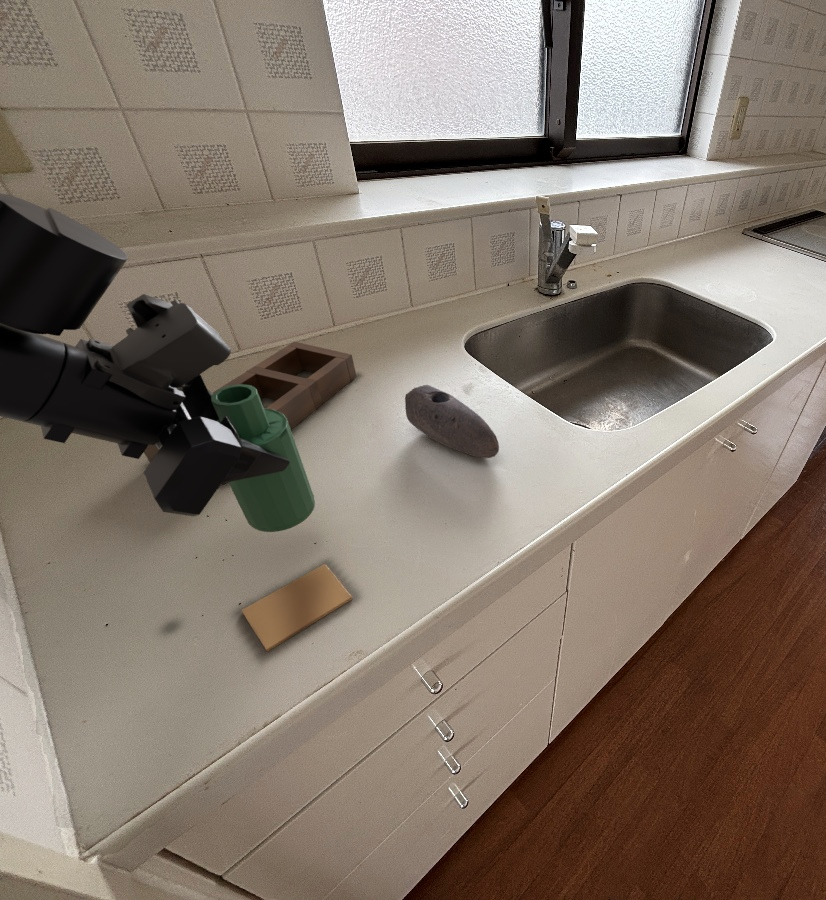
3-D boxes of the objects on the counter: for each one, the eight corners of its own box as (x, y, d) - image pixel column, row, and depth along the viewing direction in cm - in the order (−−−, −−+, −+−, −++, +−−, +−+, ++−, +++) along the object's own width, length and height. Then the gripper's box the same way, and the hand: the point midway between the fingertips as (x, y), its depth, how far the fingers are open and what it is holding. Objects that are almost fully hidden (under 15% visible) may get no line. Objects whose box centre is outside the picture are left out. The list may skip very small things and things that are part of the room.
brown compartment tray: (224, 484, 60) (211, 459, 57) (151, 465, 61) (135, 440, 58) (356, 376, 80) (351, 354, 78) (300, 363, 81) (294, 341, 79)
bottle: (233, 528, 48) (172, 410, 39) (268, 486, 52) (219, 371, 44) (297, 535, 48) (249, 419, 39) (325, 492, 53) (289, 380, 44)
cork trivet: (267, 651, 45) (266, 649, 45) (242, 612, 48) (240, 610, 47) (352, 599, 50) (351, 596, 50) (325, 565, 53) (325, 563, 52)
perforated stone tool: (509, 456, 69) (509, 416, 65) (484, 476, 66) (482, 435, 61) (432, 415, 75) (427, 375, 70) (404, 431, 71) (397, 390, 67)
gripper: (142, 340, 28) (369, 427, 41) (87, 239, 37) (287, 337, 51) (31, 498, 28) (293, 534, 42) (4, 358, 38) (225, 424, 51)
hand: (274, 447), depth 46 cm, fingers closed on bottle, 6 cm apart
